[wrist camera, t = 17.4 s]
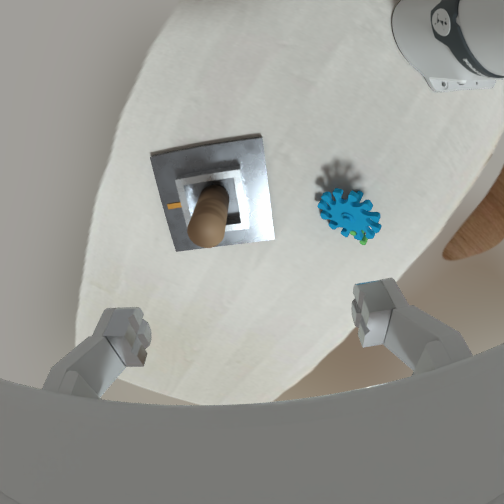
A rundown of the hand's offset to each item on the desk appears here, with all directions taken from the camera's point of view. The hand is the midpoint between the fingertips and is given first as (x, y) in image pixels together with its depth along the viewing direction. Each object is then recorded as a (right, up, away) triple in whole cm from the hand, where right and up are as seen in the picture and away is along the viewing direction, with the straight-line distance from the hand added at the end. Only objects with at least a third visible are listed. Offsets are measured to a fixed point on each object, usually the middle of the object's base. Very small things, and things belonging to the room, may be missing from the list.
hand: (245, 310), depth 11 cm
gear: (+15, +9, +34) cm, 38 cm away
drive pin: (-5, +10, +32) cm, 34 cm away
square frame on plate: (-5, +10, +33) cm, 35 cm away
